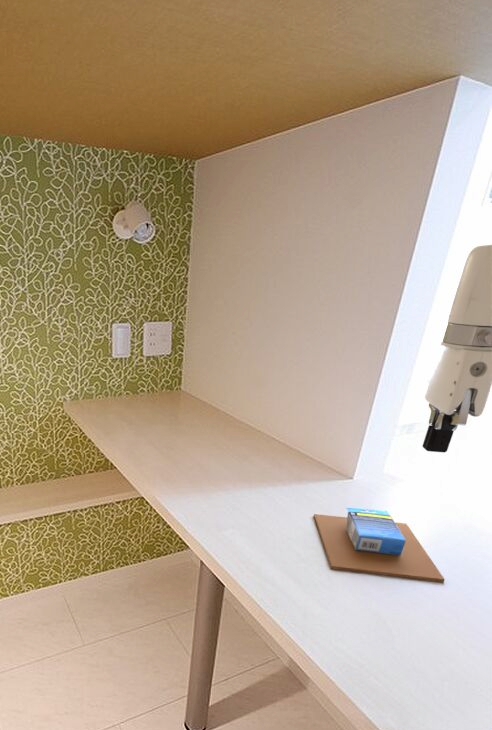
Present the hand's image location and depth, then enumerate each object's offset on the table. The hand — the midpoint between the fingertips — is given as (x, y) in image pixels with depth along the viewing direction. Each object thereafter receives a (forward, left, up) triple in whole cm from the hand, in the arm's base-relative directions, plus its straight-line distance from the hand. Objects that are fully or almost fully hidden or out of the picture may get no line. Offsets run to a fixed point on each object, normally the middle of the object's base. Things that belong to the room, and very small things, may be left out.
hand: (434, 449), depth 73 cm
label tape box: (+2, -4, -22) cm, 23 cm away
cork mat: (+2, -8, -25) cm, 26 cm away
